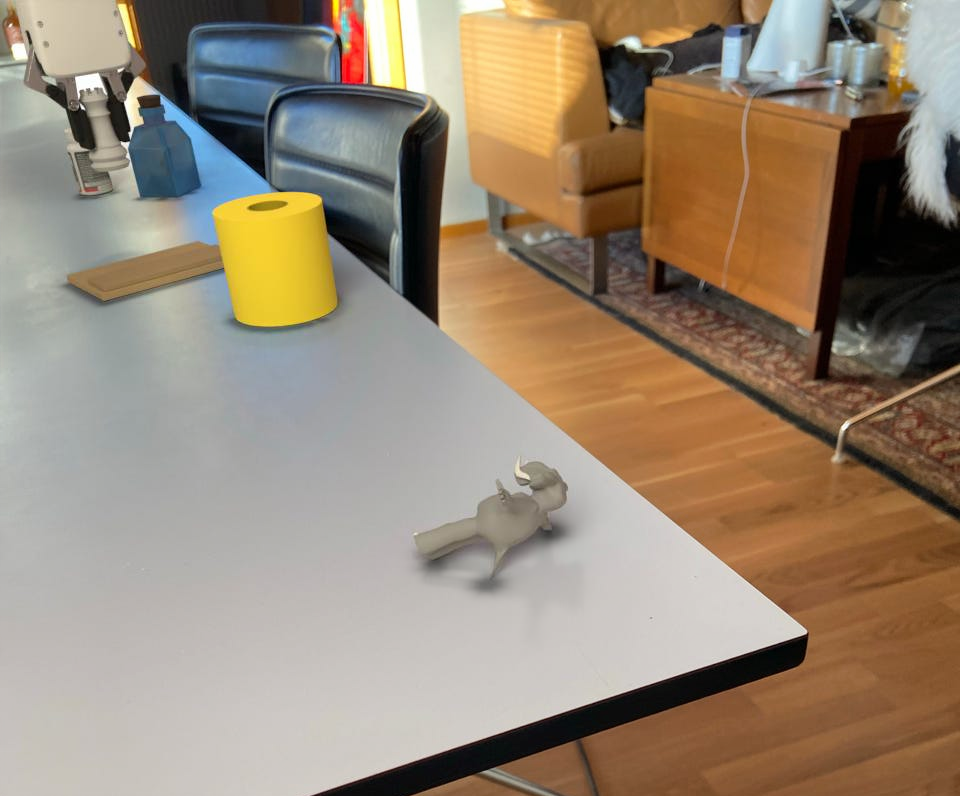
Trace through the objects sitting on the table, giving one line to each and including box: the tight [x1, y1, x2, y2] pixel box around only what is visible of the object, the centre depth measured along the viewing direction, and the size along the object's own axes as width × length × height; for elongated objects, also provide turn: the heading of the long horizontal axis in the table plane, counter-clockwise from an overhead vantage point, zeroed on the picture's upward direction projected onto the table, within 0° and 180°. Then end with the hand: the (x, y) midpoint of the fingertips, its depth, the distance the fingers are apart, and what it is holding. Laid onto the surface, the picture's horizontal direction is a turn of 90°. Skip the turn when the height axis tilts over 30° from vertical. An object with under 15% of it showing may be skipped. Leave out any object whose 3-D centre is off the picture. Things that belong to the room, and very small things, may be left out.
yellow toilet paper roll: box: [211, 191, 339, 328], centre depth 96 cm, size 10×10×9 cm
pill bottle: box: [63, 127, 114, 196], centre depth 145 cm, size 5×5×8 cm
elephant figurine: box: [412, 454, 569, 580], centre depth 58 cm, size 10×6×9 cm
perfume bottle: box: [127, 93, 202, 198], centre depth 140 cm, size 6×6×12 cm
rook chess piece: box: [78, 86, 131, 172], centre depth 114 cm, size 4×4×8 cm
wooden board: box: [66, 240, 224, 302], centre depth 111 cm, size 16×10×1 cm, turn 129°
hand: (105, 142), depth 115 cm, fingers closed on rook chess piece, 3 cm apart
